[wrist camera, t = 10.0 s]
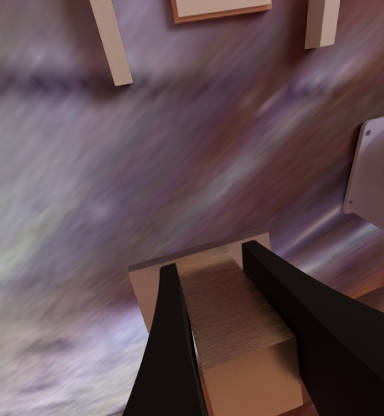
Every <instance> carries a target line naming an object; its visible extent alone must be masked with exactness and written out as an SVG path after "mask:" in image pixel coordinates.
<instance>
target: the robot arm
mask: <svg viewBox="0 0 384 416" xmlns="http://www.w3.org/2000/svg"><path fill="white" fill-rule="evenodd" d="M342 211H343V212H344V213H345V214H348V213H352V212H353V213H355V214H357V215H358V216H360V217H362V218H363V219H365V220H367V221H368V222H370V223H372V224H373V225H375V226H377V227H378V228H380V229H382V230H383V231H384V117H380V118H376V119H372V120H368V121H365V122H364V123H363V124H362V126H361V130H360V134H359V138H358V143H357V147H356V152H355V156H354V160H353V165H352V169H351V173H350V178H349V182H348V187H347V191H346V195H345V200H344V204H343V208H342ZM241 244H242V265H243V272H244V273H245V274H246V276H247V277H248V278H249V279H250V281H251V282H252V283H253V284H254V285H255V286H256V287H257V288H258V290H259V291H260V292H261V294H262V295H263V296H264V297H265V299H266V300H267V301H268V302H269V304H270V305H271V306H272V307H273V309H274V310H275V311H276V312H277V314H278V315H279V316H280V317H281V319H282V320H283V321H284V322H285V324H286V325H287V326H288V327H289V329H290V330H291V331H292V332H293V334H294V335H295V336H296V343H297V352H298V362H299V372H300V377H301V379H302V381H303V383H304V385H305V387H306V389H307V391H308V393H309V395H310V397H311V399H312V401H313V403H314V405H315V408H316V409H317V412H318V414H319V416H384V313H383V312H380V311H378V310H376V309H374V308H371V307H369V306H367V305H365V304H362V303H360V302H358V301H356V300H354V299H352V298H350V297H348V296H346V295H344V294H342V293H340V292H338V291H336V290H334V289H332V288H330V287H328V286H326V285H325V284H323V283H321V282H319V281H318V280H316V279H314V278H312V277H311V276H309V275H307V274H306V273H304V272H302V271H301V270H299V269H298V268H296V267H294V266H293V265H291V264H290V263H288V262H287V261H285V260H283V259H282V258H280V257H279V256H277V255H276V254H275V253H273V252H272V251H270V250H269V249H267V248H266V247H264V246H263V245H261V244H260V243H259V242H257V241H256V240H251V241H248V242H244V243H241ZM122 416H208V411H207V407H206V403H205V399H204V395H203V391H202V387H201V382H200V377H199V371H198V365H197V359H196V353H195V347H194V341H193V335H192V329H191V323H190V319H189V315H188V311H187V307H186V301H185V297H184V293H183V289H182V286H181V282H180V278H179V274H178V271H177V267H176V263H172V264H169V265H165V266H162V267H161V268H160V276H159V288H158V295H157V301H156V306H155V312H154V317H153V321H152V325H151V329H150V333H149V337H148V341H147V345H146V348H145V352H144V355H143V359H142V362H141V365H140V368H139V371H138V374H137V377H136V380H135V383H134V386H133V388H132V391H131V394H130V397H129V400H128V402H127V405H126V408H125V410H124V413H123V415H122Z"/></svg>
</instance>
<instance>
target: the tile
mask: <svg viewBox="0 0 384 416" xmlns="http://www.w3.org/2000/svg"><path fill="white" fill-rule="evenodd" d="M170 2H171V9H172V15H173V22H174V25H175V24H182V23H188V22H195V21H202V20H209V19H216V18H222V17H229V16H236V15H243V14H250V13H257V12H263V11H268V10H270V9H272V0H170Z"/></svg>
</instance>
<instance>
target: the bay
mask: <svg viewBox="0 0 384 416" xmlns="http://www.w3.org/2000/svg"><path fill="white" fill-rule="evenodd" d="M90 3H91V6H92V10H93V13H94V16H95V20H96V23H97V26H98V30H99V33H100V36H101V40H102V43H103V46H104V50H105V53H106V56H107V60H108V63H109V66H110V70H111V73H112V76H113V80H114V83H115V86H119V85H124V84H129V83H133V81H132V77H131V74H130V70H129V66H128V62H127V58H126V54H125V51H124V47H123V43H122V39H121V35H120V32H119V28H118V24H117V20H116V16H115V12H114V9H113V5H112V1H111V0H90ZM339 4H340V0H309V3H308V15H307V26H306V38H305V49H310V48H316V47H322V46H327V45H333V44H334V40H335V33H336V26H337V19H338V12H339Z"/></svg>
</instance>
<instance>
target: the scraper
mask: <svg viewBox="0 0 384 416" xmlns="http://www.w3.org/2000/svg"><path fill="white" fill-rule="evenodd" d="M251 240H256V241H257V242H259V243H260V244H261V245H263V246H264V247H266V248H267V249H269V250H270V251H271V247H270V239H269V232H268V231H266V230H265V229H263V228H259V229H256V230H252V231H249V232H245V233H242V234H238V235H234V236H231V237H227V238H224V239H220V240H217V241H213V242H210V243H206V244H203V245H199V246H196V247H192V248H189V249H185V250H182V251H178V252H175V253H171V254H168V255H164V256H161V257H157V258H154V259H150V260H147V261H143V262H140V263H136V264H133V265H129V270H128V274H129V277H130V280H131V283H132V286H133V289H134V292H135V295H136V298H137V301H138V304H139V307H140V310H141V313H142V316H143V319H144V322H145V325H146V328H147V331H148V333H150V329H151V325H152V321H153V317H154V312H155V306H156V301H157V295H158V288H159V276H160V268H161V267H162V266H165V265H169V264H172V263H176V267H177V271H178V274H179V278H180V282H181V286H182V289H183V293H184V297H185V301H186V307H187V311H188V315H189V319H190V323H191V327H192V331H193V335H194V339H195V343H196V347H197V351H198V355H199V359H200V364H201V368H202V371H203V375H204V379H205V383H206V386H207V390H208V394H209V398H210V401H211V405H212V409H213V413H214V416H276V415H278V414H281V413H283V412H286V411H288V410H291V409H293V408H296V407H298V406H301V405H303V401H302V392H301V382H300V372H299V362H298V352H297V343H296V336H295V335H294V334H293V332H292V331H291V330H290V329H289V327H288V326H287V325H286V324H285V322H284V321H283V320H282V319H281V317H280V316H279V315H278V314H277V312H276V311H275V310H274V309H273V307H272V306H271V305H270V304H269V302H268V301H267V300H266V299H265V297H264V296H263V295H262V294H261V292H260V291H259V290H258V288H257V287H256V286H255V285H254V284H253V283H252V282H251V281H250V279H249V278H248V277H247V276H246V274H245V273H244V272H243V265H242V244H241V243H244V242H248V241H251Z"/></svg>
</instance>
